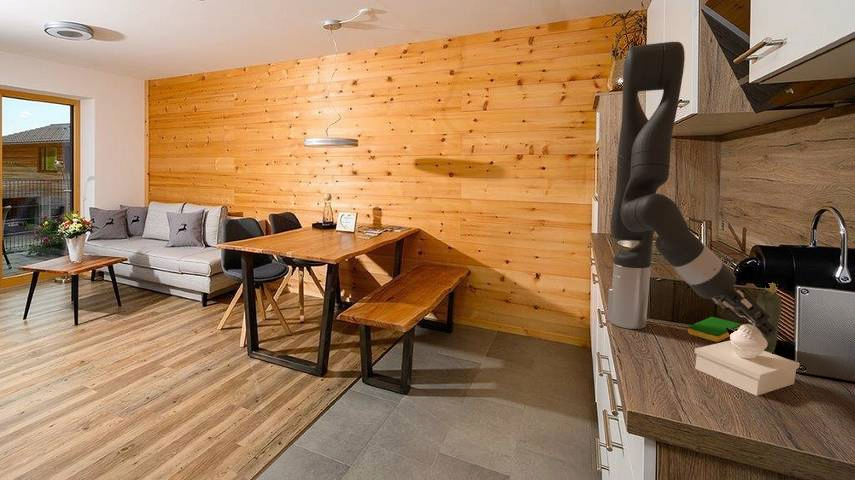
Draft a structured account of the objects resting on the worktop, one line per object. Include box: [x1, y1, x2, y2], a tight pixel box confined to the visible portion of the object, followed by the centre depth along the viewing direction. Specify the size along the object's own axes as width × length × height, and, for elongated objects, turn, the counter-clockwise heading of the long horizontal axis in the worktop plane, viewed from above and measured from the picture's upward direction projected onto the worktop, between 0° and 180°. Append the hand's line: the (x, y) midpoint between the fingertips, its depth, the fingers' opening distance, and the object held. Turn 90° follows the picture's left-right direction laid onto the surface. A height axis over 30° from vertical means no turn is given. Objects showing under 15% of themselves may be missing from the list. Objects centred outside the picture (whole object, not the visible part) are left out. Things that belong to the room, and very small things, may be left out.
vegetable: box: [755, 282, 783, 354], centre depth 90 cm, size 4×4×20 cm
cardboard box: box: [694, 339, 801, 397], centre depth 84 cm, size 13×13×5 cm
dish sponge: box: [687, 316, 741, 343], centre depth 108 cm, size 7×14×2 cm, turn 123°
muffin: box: [729, 323, 767, 359], centre depth 83 cm, size 6×6×7 cm
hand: (755, 325), depth 83 cm, fingers open, 8 cm apart
